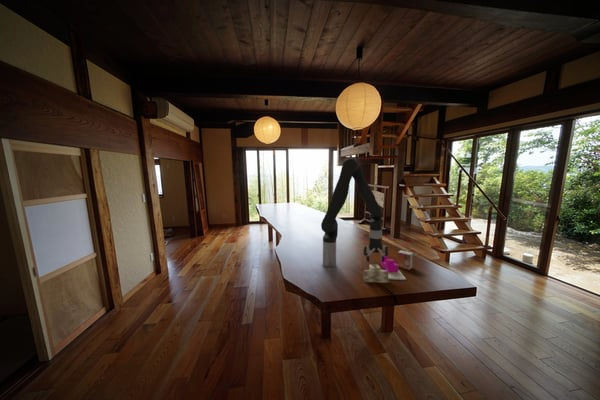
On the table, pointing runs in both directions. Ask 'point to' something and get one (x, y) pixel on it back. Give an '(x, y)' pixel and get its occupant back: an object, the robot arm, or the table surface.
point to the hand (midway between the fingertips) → (375, 261)
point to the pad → (395, 275)
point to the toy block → (389, 264)
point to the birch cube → (374, 267)
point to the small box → (405, 259)
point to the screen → (376, 276)
